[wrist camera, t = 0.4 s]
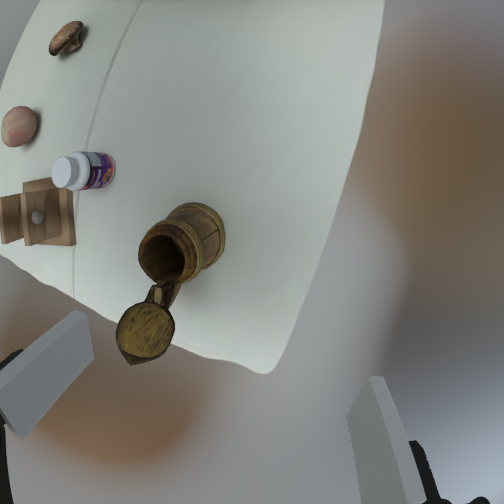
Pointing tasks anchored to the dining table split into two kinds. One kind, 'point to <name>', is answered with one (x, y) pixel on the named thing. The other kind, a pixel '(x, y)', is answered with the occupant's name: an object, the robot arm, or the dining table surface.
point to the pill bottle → (83, 171)
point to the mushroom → (66, 38)
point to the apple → (18, 126)
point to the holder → (38, 215)
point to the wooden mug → (168, 277)
